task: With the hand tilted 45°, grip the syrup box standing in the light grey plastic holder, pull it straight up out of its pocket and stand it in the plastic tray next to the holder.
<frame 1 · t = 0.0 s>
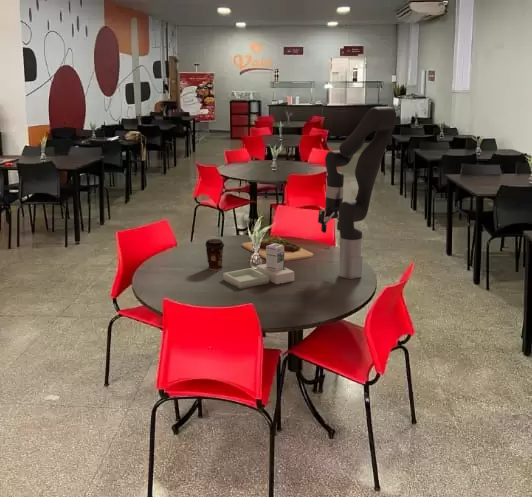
hand: (331, 231, 289), 17 cm above the table, tool pointing down, fingers open, 8 cm apart
coffee cup: (214, 269, 292), on the table
syrup box: (275, 277, 280), resting in holder
tray: (245, 281, 275), on the table
cutting board: (276, 252, 321), on the table
holder: (275, 277, 280), on the table
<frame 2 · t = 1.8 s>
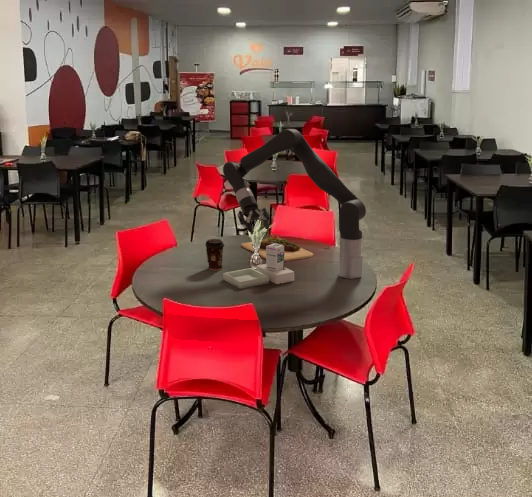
hand: (259, 230, 285), 18 cm above the table, tool tilted 45°, fingers open, 8 cm apart
nothing on the table moved.
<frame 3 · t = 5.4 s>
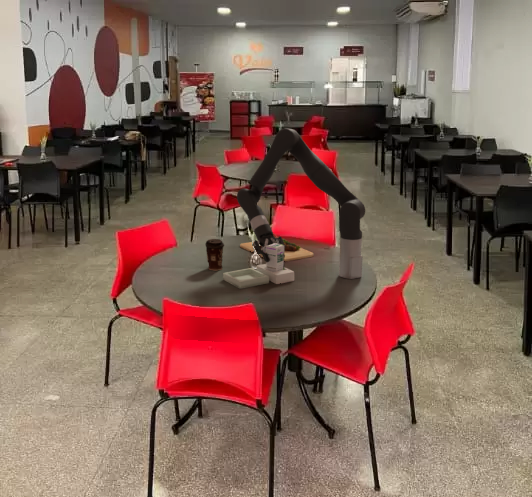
hand: (275, 259, 277), 8 cm above the table, tool tilted 45°, fingers closed on syrup box, 7 cm apart
syrup box: (275, 277, 280), resting in holder, touching gripper
when the fingers open (10 cm above the table, at t = 12.3 s): syrup box drops 1 cm, resting on tray.
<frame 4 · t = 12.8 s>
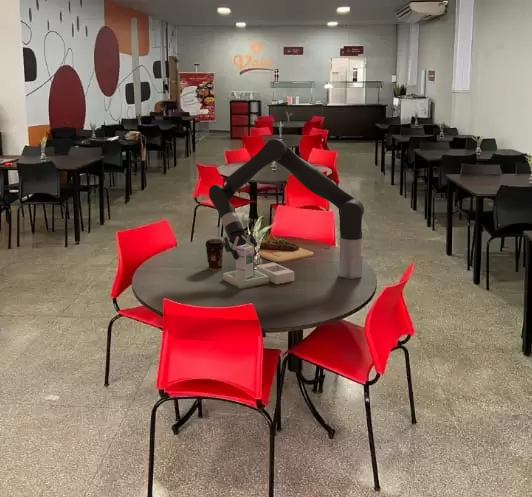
hand: (246, 257, 271), 11 cm above the table, tool tilted 45°, fingers open, 8 cm apart
syrup box: (245, 279, 274), point 1 cm above the table, touching tray
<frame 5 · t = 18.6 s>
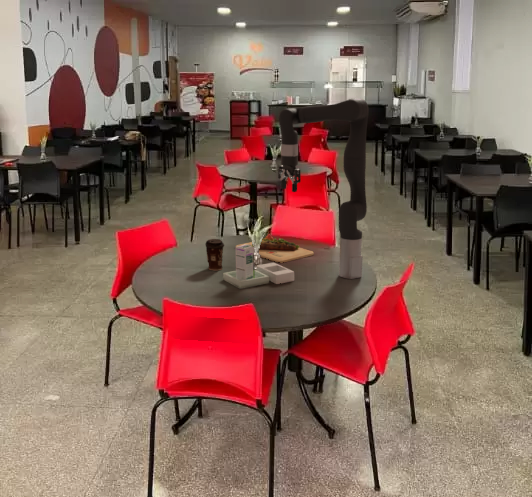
hand: (289, 190, 292), 34 cm above the table, tool pointing down, fingers open, 8 cm apart
at the end: syrup box inside the target area on the tray (0.3 cm from its centre), point 0.8 cm above the tray's base; syrup box tilted 0°; the gripper is holding nothing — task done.
